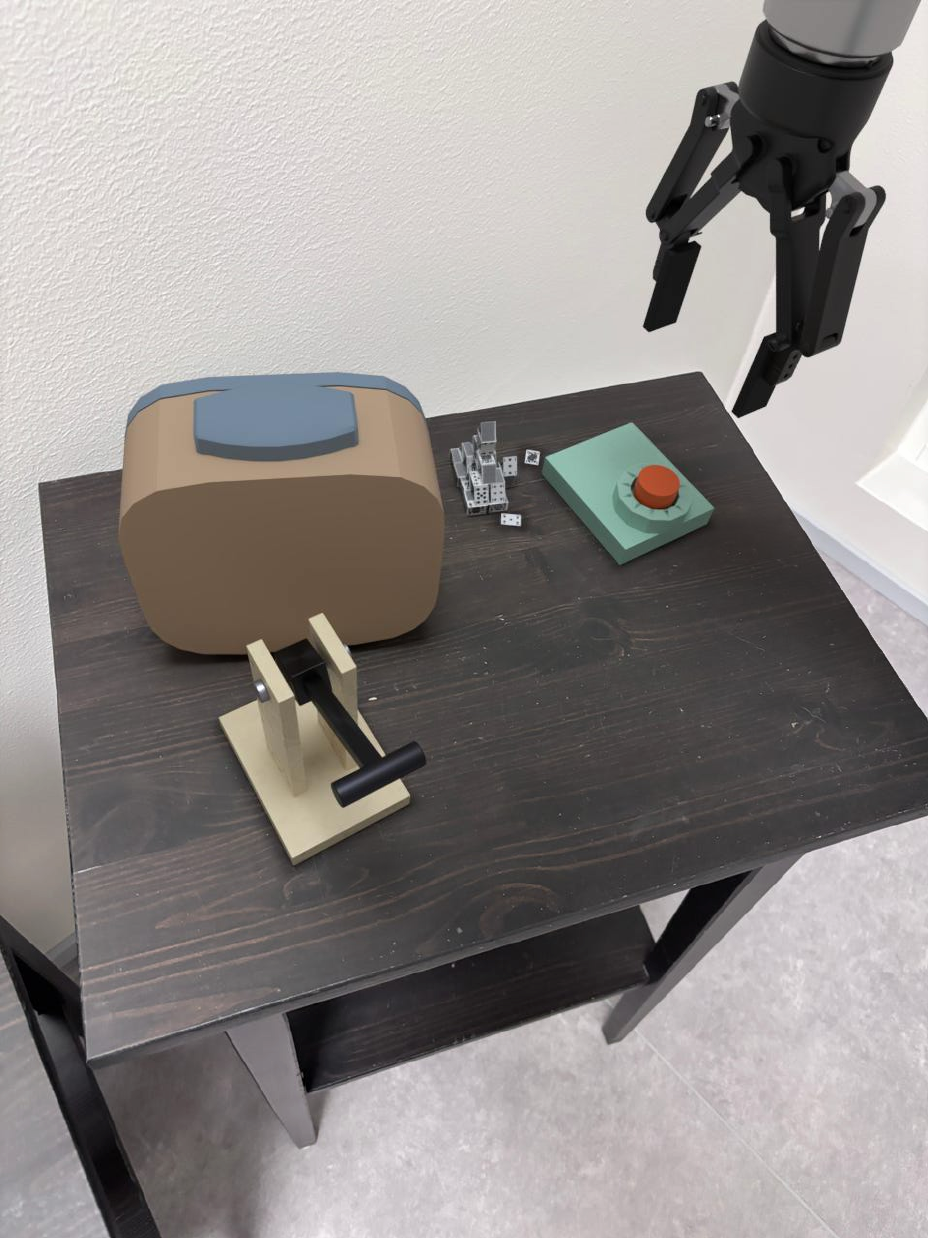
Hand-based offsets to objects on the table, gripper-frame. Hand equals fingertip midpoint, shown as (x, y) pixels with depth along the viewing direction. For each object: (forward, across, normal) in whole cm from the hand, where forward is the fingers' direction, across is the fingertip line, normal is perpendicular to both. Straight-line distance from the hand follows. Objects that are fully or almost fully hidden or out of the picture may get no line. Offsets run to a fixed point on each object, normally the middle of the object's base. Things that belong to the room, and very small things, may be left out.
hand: (702, 365), depth 67 cm
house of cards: (+18, +9, +9) cm, 22 cm away
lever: (+4, -12, +36) cm, 38 cm away
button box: (+18, +3, 0) cm, 18 cm away
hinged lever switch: (+18, -7, +36) cm, 41 cm away
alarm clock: (+18, +6, +31) cm, 36 cm away
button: (+14, 0, 0) cm, 14 cm away
